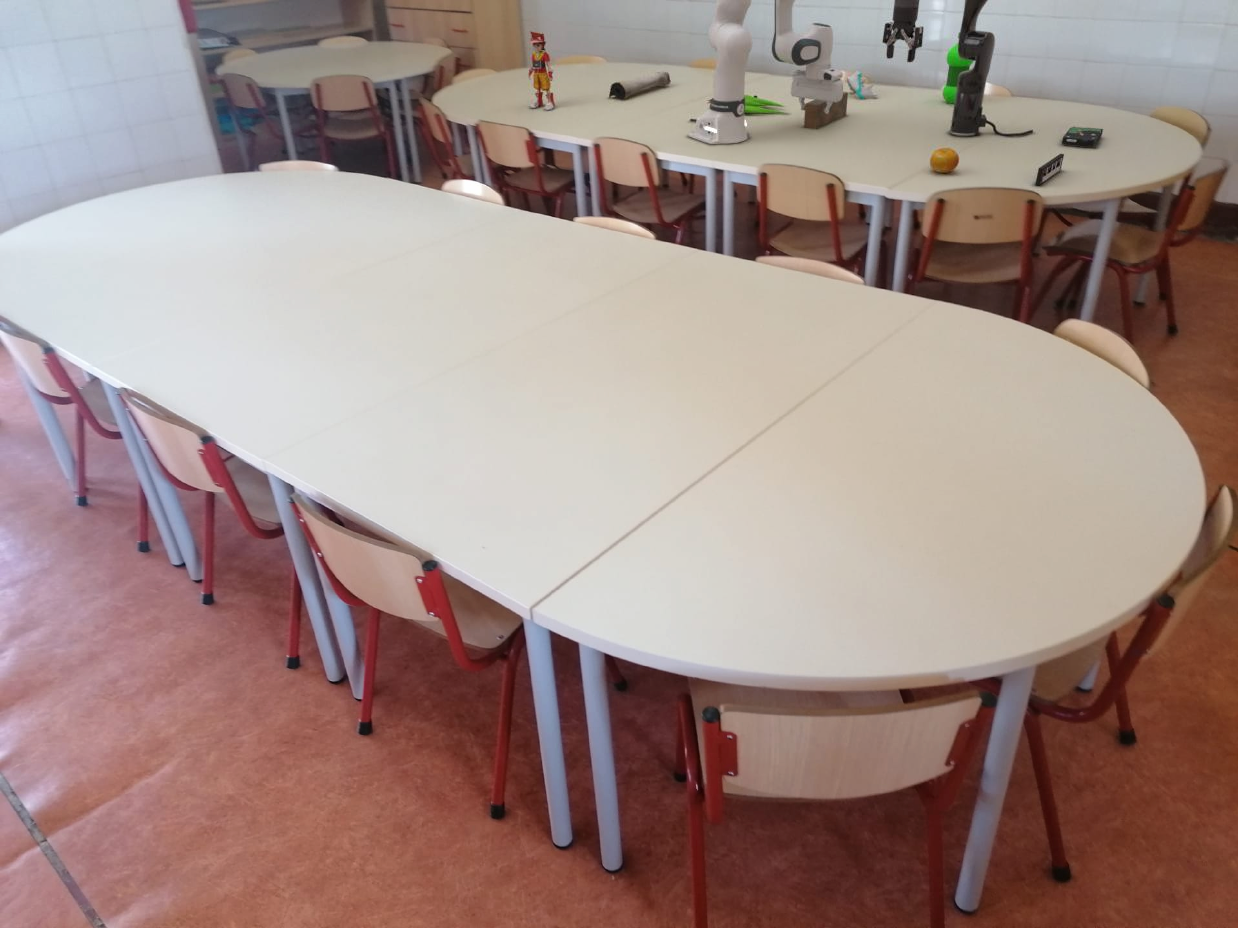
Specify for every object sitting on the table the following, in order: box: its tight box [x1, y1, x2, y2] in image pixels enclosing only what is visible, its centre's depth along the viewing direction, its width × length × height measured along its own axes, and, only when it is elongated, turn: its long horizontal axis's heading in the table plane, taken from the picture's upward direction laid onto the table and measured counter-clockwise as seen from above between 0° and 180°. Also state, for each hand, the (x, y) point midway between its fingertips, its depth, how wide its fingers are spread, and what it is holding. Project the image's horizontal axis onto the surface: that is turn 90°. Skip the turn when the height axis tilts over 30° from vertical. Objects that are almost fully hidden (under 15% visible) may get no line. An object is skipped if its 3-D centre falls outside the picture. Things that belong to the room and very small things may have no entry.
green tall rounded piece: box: [942, 31, 974, 104], centre depth 348 cm, size 10×10×25 cm
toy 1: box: [527, 31, 556, 111], centre depth 374 cm, size 12×9×30 cm
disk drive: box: [1061, 126, 1104, 148], centre depth 303 cm, size 10×3×15 cm
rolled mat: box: [608, 71, 672, 101], centre depth 395 cm, size 30×9×10 cm
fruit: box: [929, 147, 960, 174], centre depth 283 cm, size 8×8×8 cm
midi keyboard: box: [1035, 153, 1065, 186], centre depth 273 cm, size 18×1×5 cm, turn 138°
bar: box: [803, 91, 849, 130], centre depth 339 cm, size 22×5×8 cm, turn 139°
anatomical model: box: [846, 70, 878, 100], centre depth 369 cm, size 15×10×10 cm
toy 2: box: [744, 94, 786, 114], centre depth 359 cm, size 28×5×30 cm
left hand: (814, 111), depth 334 cm, fingers open, 8 cm apart
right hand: (899, 60), depth 290 cm, fingers open, 8 cm apart
